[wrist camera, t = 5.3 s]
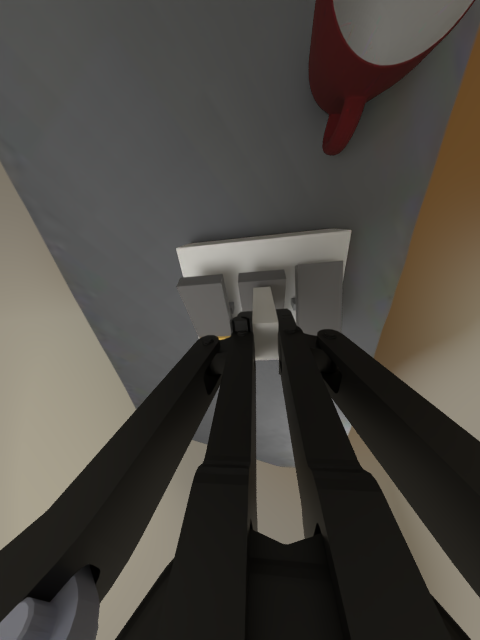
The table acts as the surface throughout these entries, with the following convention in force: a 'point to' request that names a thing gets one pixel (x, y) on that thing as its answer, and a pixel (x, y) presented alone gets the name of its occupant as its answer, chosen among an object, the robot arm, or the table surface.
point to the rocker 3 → (319, 296)
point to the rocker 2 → (262, 279)
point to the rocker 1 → (207, 304)
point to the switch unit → (263, 258)
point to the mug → (370, 53)
